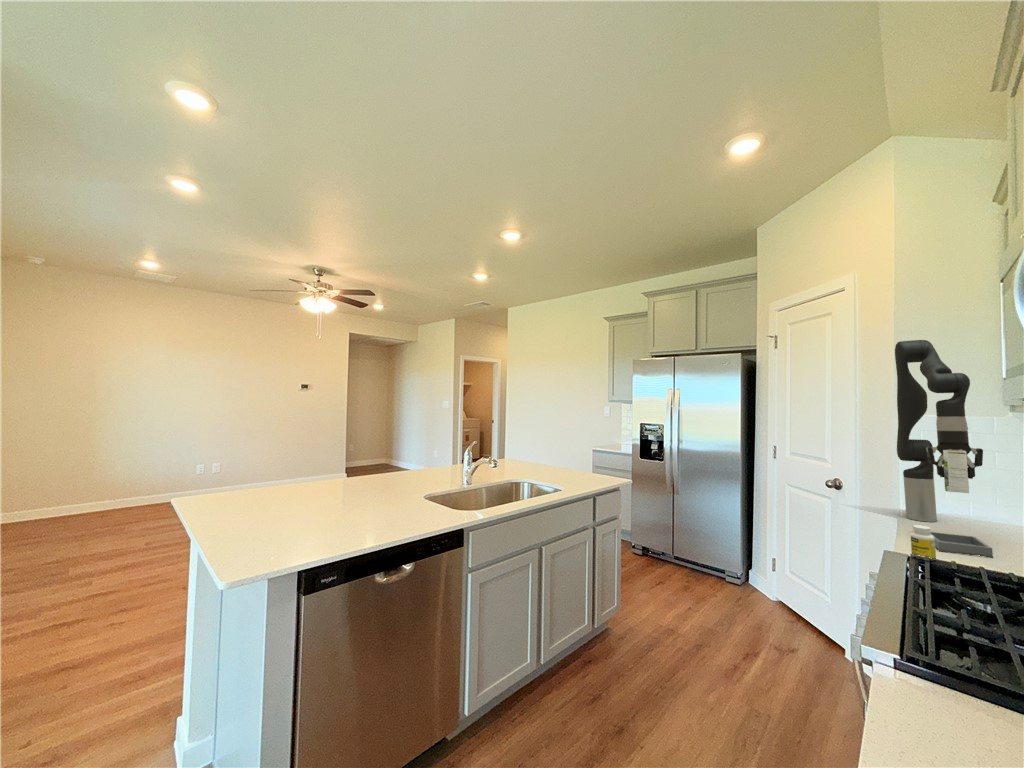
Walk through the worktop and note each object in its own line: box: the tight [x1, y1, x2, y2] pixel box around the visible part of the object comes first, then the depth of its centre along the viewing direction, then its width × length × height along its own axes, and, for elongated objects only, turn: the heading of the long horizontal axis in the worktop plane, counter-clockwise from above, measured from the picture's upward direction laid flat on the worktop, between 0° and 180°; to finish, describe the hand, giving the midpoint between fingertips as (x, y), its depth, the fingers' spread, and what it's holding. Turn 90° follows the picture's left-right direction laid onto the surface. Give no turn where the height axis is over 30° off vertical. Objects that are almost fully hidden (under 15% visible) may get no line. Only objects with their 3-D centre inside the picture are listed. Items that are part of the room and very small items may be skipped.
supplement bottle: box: [910, 524, 937, 560], centre depth 130 cm, size 5×5×10 cm
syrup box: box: [942, 450, 970, 494], centre depth 146 cm, size 6×6×14 cm
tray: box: [930, 531, 994, 559], centre depth 139 cm, size 14×12×3 cm
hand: (955, 477), depth 146 cm, fingers closed on syrup box, 6 cm apart
